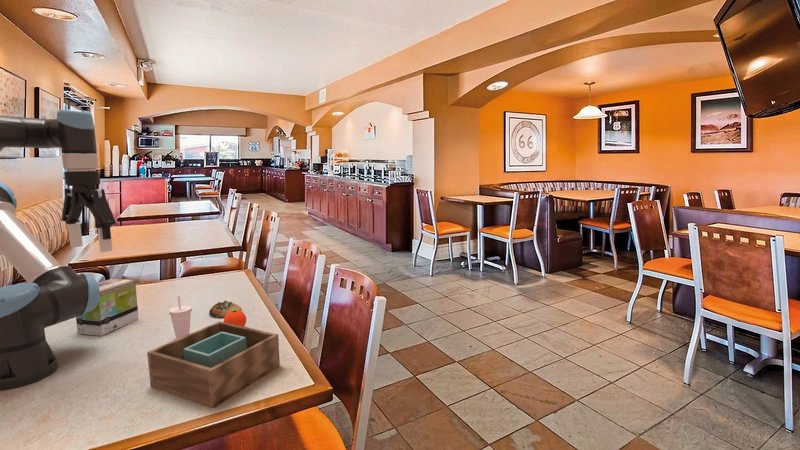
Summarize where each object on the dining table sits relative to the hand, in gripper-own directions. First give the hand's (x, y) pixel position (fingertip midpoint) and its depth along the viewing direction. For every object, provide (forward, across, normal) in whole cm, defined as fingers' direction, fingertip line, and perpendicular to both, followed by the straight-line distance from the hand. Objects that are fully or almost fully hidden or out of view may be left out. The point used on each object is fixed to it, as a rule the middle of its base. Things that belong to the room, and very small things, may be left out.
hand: (91, 249), depth 116 cm
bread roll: (+32, -2, -41) cm, 52 cm away
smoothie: (+32, -8, -19) cm, 38 cm away
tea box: (+32, +23, -15) cm, 42 cm away
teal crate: (+31, -37, -7) cm, 49 cm away
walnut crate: (+32, -37, -7) cm, 49 cm away
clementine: (+32, -18, -31) cm, 48 cm away
